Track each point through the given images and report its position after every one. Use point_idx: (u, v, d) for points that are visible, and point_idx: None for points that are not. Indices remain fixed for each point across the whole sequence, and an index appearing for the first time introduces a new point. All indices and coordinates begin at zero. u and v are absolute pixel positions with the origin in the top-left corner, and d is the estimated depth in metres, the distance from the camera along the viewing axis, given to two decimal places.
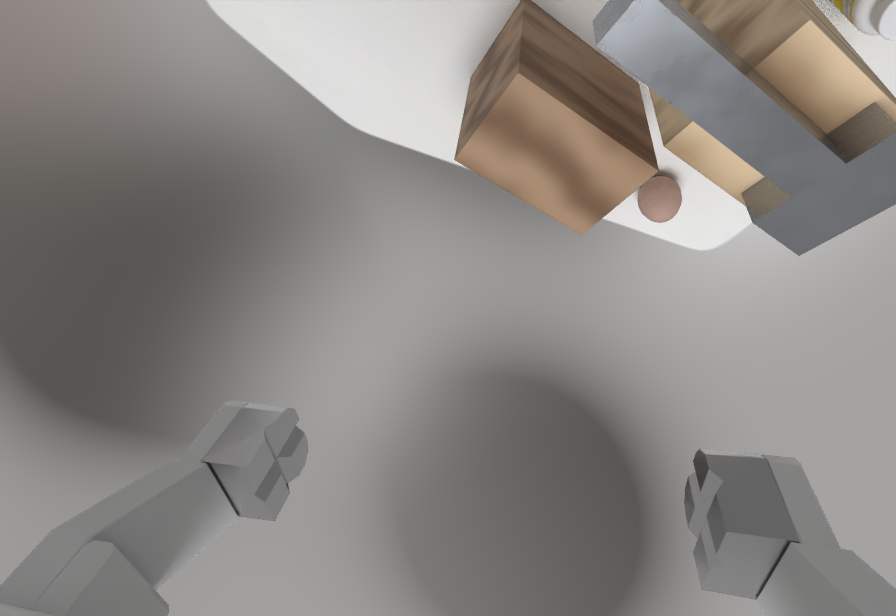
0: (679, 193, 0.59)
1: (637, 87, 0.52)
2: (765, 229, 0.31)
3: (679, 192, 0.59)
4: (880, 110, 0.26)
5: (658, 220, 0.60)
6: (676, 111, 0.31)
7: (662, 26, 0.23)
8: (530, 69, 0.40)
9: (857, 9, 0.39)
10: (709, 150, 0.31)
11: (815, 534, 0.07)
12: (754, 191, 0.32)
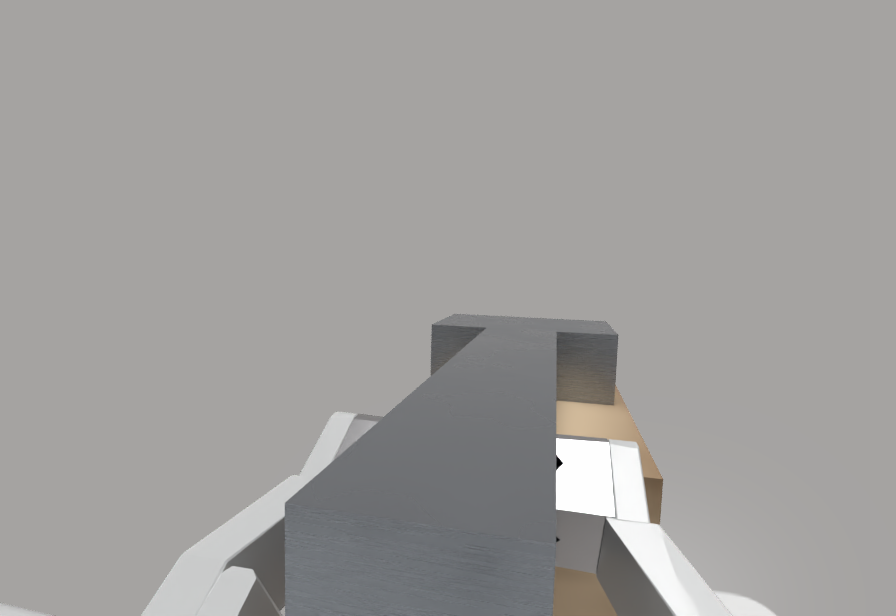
0: None
1: None
2: (611, 331, 0.21)
3: None
4: (431, 371, 0.22)
5: None
6: None
7: (396, 447, 0.07)
8: None
9: None
10: None
11: (630, 510, 0.07)
12: (595, 389, 0.20)
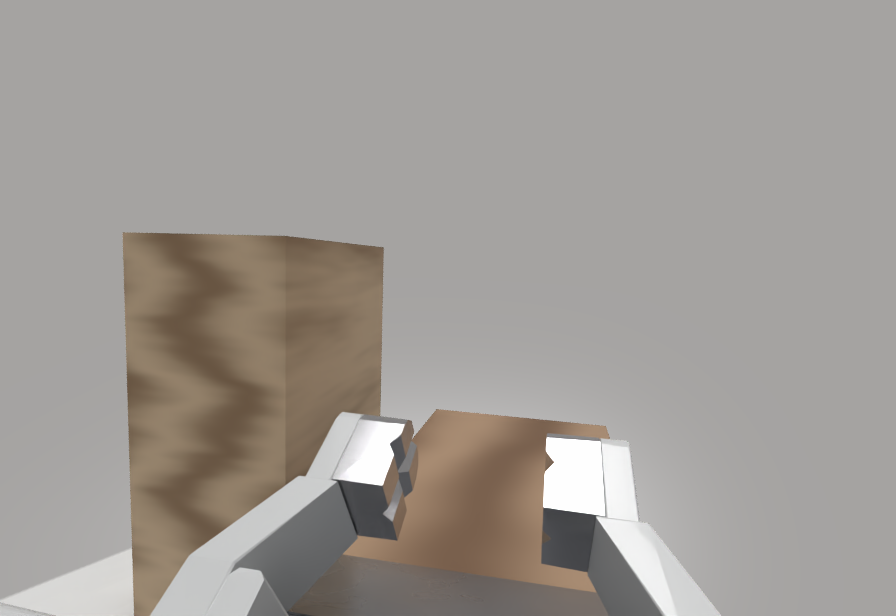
0: None
1: None
2: None
3: None
4: None
5: None
6: (258, 282, 0.22)
7: None
8: None
9: None
10: None
11: (620, 509, 0.07)
12: None
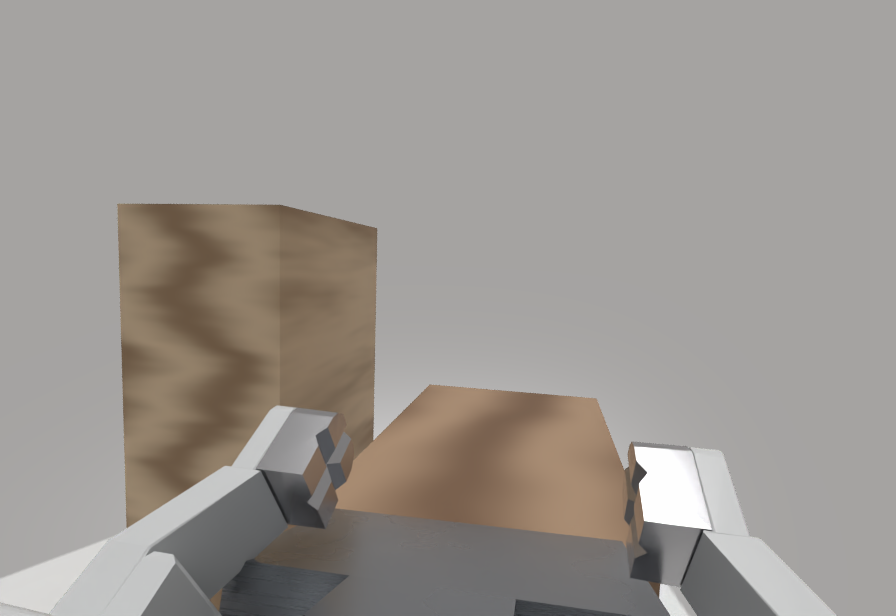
0: None
1: None
2: (649, 593, 0.09)
3: None
4: None
5: None
6: (252, 251, 0.23)
7: None
8: None
9: None
10: None
11: (727, 523, 0.07)
12: None
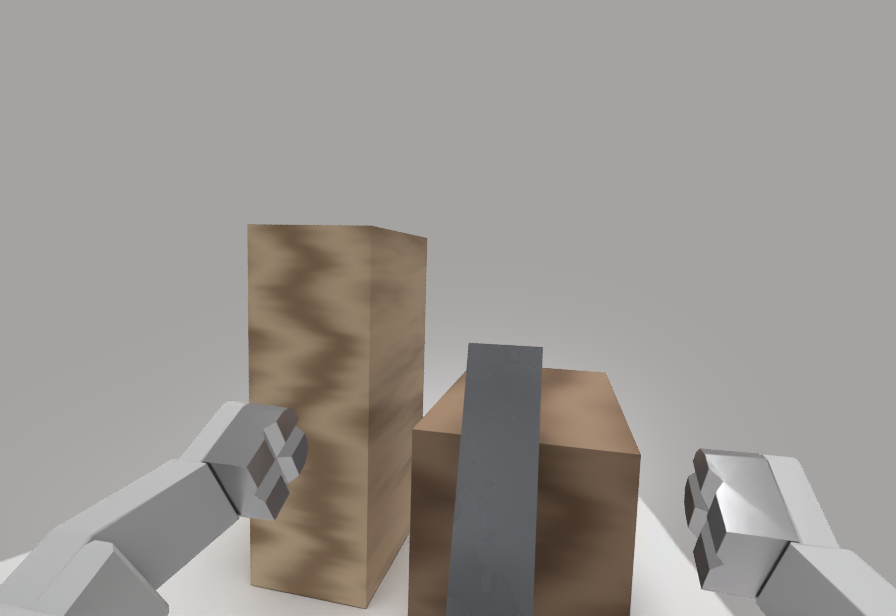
0: None
1: None
2: None
3: None
4: None
5: None
6: (350, 259, 0.31)
7: None
8: None
9: None
10: None
11: (815, 534, 0.07)
12: None
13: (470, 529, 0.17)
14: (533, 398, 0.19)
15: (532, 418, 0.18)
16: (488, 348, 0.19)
